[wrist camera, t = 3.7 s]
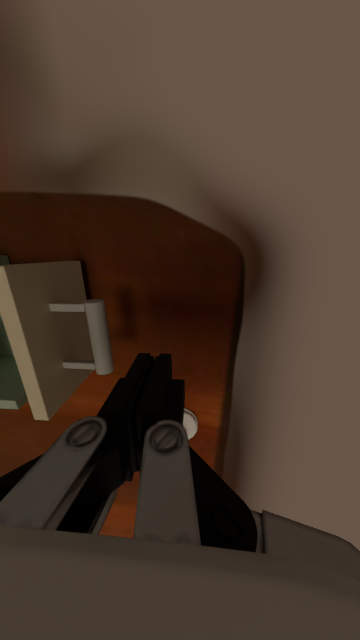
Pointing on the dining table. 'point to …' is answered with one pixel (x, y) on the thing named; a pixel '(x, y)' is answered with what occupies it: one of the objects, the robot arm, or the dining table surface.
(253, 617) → the robot arm
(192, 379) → the dining table surface
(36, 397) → the drawer
